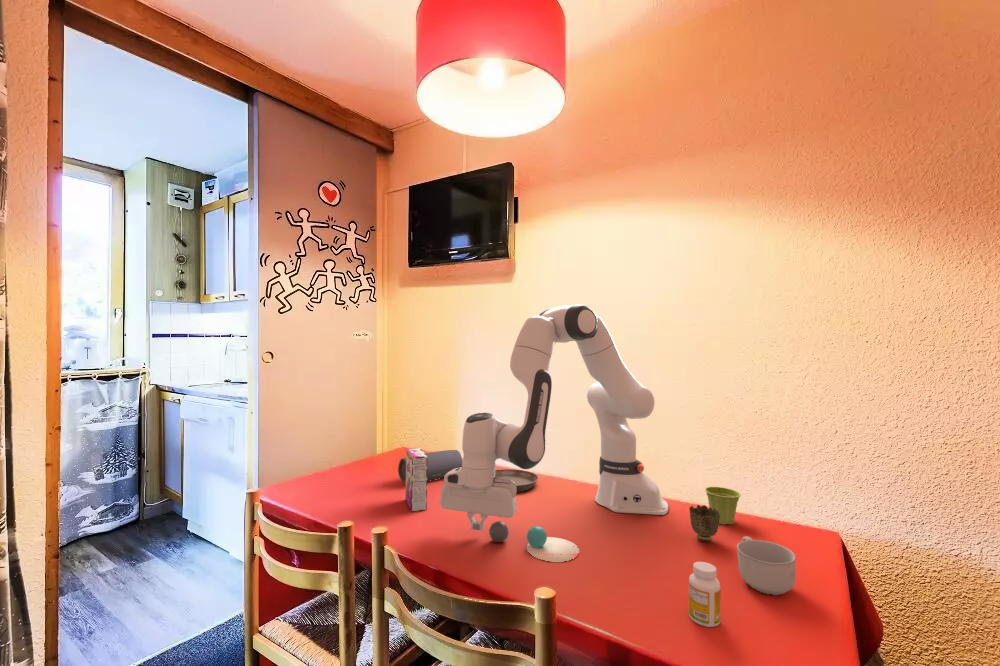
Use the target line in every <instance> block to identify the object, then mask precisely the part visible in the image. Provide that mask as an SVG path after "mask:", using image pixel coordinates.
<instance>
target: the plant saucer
mask: <svg viewBox="0 0 1000 666" xmlns="http://www.w3.org/2000/svg"><path fill="white" fill-rule="evenodd" d="M495 478H500V479H505V480H506V479H509V480H511V481H512V482H514V483H515V485H516V487H517V493H518V492H525V491H528V490H530V489H531V488H532V487H534V486H535V485H536V484H537V482H538V481H539V476H538V475H537V474H536V473H534V472H531V471H527V470H524V469H512V468H511V469H510V468H508V469H507V468H506V469H505V468H504V469H503V468H502V469H495ZM511 484H512V483H511Z"/></svg>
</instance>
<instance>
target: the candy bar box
mask: <svg viewBox="0 0 1000 666" xmlns="http://www.w3.org/2000/svg"><path fill="white" fill-rule="evenodd" d="M425 453H426V452H424V450H422V448H421V447H417V448H416V447H415V448H406V449H405V458H406V482H405V501H406V503H407V505H408V508H409V509H410V511H411V512H412V511H416V512H419V511H418V510H422V511H427V510H428V509H427V508H428V506H427V505H428V503H427V501H428V497H427V496H428V482H427V458H428V457H427V456H426V454H425Z"/></svg>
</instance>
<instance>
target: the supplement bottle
mask: <svg viewBox="0 0 1000 666" xmlns="http://www.w3.org/2000/svg"><path fill="white" fill-rule="evenodd" d="M692 572H693V573H691V574H690V575H689V578H688V616H689V618H690V619H691V620H692V621H693V622H694V623H696V624H698V625H701V626H702V627H706V628H715V627H717V626H719V625H720V624H721V591H722V590H721V588H722V587H721V583H720V581H719V579H718V578H717V567H716V566H715V565H714V564H711V563H710V562H705V561H696V562H694V563H693V565H692Z"/></svg>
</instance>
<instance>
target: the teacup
mask: <svg viewBox="0 0 1000 666" xmlns="http://www.w3.org/2000/svg"><path fill="white" fill-rule="evenodd" d="M736 551H737V564H738V571H739V574H740V576H741V578H742V579H743V580H744V582H745V583H746V584H748V585H749V586H750V587H751V588H752V589H754V590H755V589H756V591H758V592H759V591H760V593H762V592H763V593H762V594H765V593H766V595H769V594H773V595H772V596H779V595H780V594H781V595H783V594H785V593H787V592H790V591H791V590H793V588H794V587H795V584H796V577H797V576H796V573H797V572H796V569H797V568H796V561H797V557H796V554H795V553H794V552H793V550H791V549H790V548H788V547H786V546H784V545H782V544H779V543H776V542H773V541H772V542H771V541H768V540H763V539H753V538H752V537H751V536H742V538H741V541H739V542H738V543H737V545H736Z"/></svg>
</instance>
